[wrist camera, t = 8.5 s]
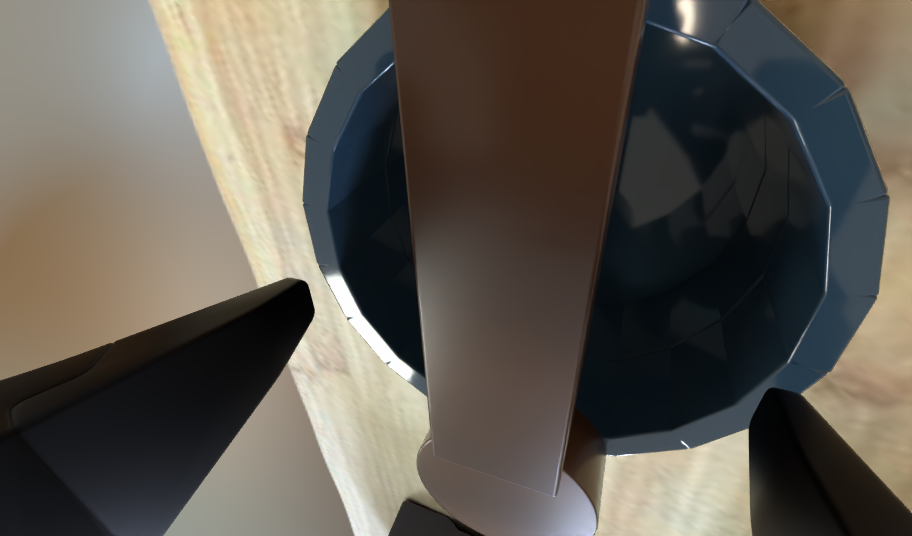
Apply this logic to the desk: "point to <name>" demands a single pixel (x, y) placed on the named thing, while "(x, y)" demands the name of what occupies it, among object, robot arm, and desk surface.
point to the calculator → (422, 523)
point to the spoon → (512, 242)
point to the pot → (651, 224)
